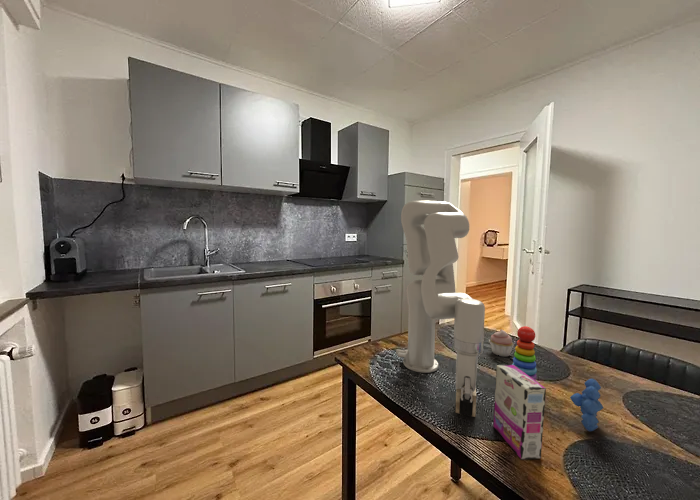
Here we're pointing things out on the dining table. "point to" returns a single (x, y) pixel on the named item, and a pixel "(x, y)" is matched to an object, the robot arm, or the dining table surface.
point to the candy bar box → (519, 411)
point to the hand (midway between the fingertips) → (465, 404)
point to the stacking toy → (525, 352)
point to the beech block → (458, 396)
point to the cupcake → (501, 343)
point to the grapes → (589, 404)
